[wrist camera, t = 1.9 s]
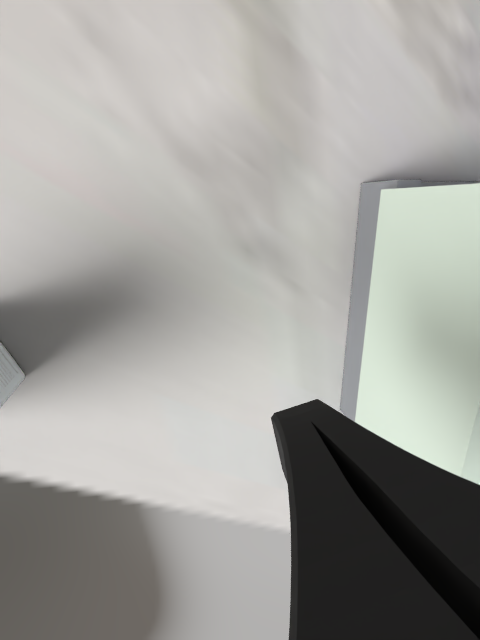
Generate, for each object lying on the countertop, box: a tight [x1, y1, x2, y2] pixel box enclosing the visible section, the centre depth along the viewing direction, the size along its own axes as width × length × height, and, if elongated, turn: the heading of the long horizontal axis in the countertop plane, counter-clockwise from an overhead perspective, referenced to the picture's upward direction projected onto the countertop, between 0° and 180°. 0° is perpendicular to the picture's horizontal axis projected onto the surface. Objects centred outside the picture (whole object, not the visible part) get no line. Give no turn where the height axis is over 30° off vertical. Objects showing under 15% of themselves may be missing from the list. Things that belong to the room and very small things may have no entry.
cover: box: [355, 183, 480, 485], centre depth 14 cm, size 7×13×1 cm
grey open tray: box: [340, 180, 480, 422], centre depth 20 cm, size 8×14×3 cm, turn 1°
